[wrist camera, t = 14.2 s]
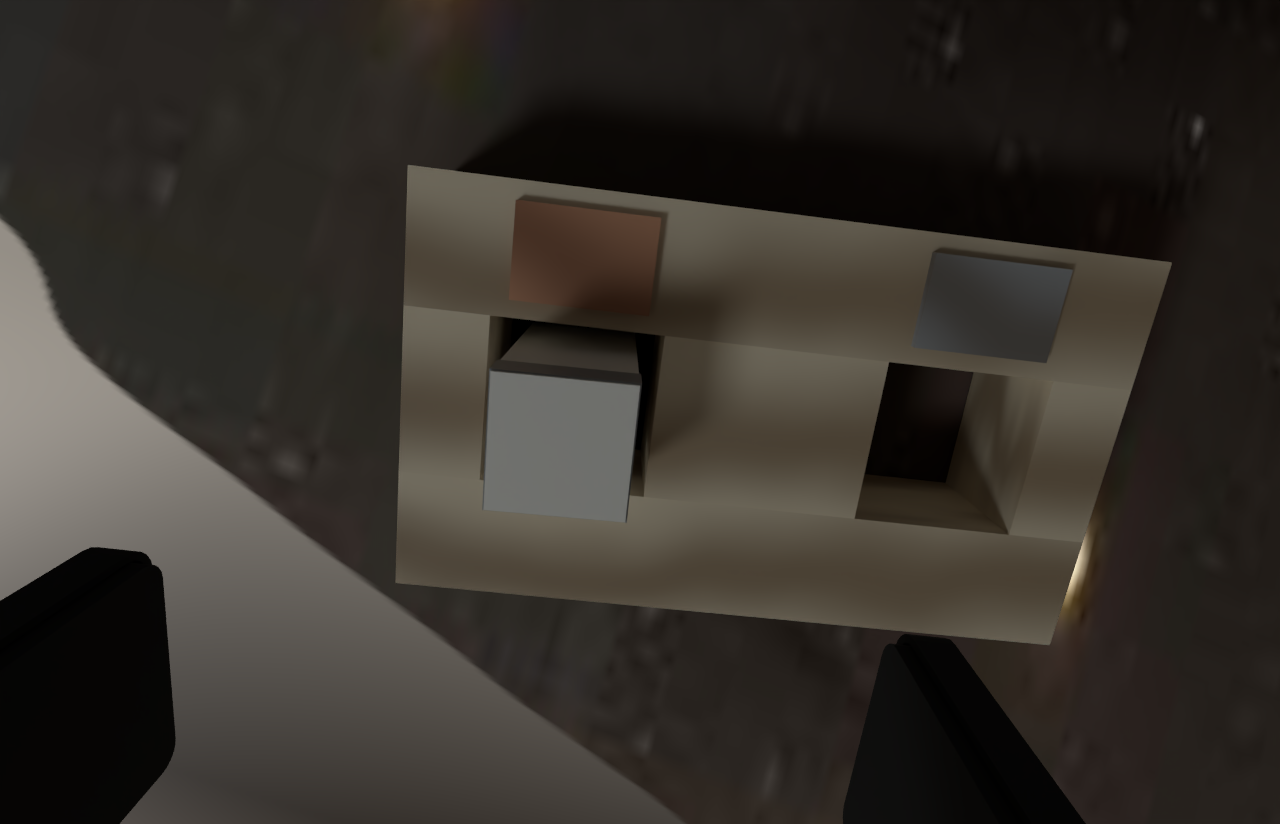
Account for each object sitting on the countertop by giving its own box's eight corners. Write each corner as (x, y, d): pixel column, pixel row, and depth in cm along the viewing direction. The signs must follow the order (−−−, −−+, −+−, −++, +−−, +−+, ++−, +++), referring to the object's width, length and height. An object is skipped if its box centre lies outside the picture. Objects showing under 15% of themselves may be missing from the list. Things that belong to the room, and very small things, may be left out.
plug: (532, 321, 27) (488, 369, 18) (636, 331, 27) (642, 384, 18) (525, 421, 28) (481, 511, 19) (625, 430, 28) (626, 524, 20)
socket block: (448, 175, 25) (404, 164, 20) (1073, 254, 27) (1179, 263, 22) (433, 522, 29) (392, 587, 24) (982, 577, 30) (1054, 650, 25)
